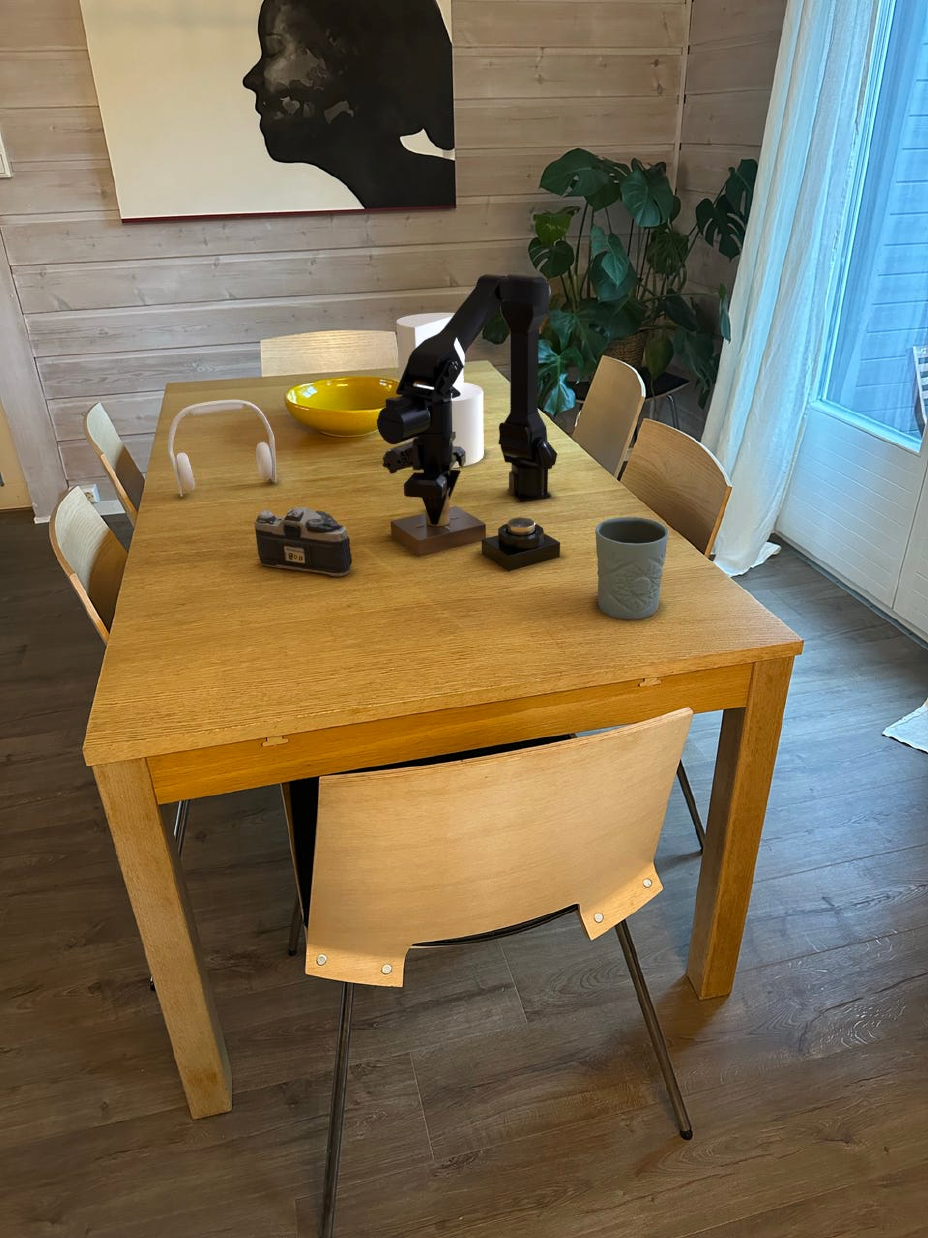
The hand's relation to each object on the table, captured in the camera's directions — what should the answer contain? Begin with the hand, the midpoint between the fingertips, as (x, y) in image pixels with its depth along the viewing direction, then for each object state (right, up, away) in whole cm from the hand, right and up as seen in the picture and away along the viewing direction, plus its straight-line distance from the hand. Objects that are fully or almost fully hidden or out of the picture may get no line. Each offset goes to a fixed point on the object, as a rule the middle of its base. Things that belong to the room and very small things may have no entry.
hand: (437, 519), depth 153 cm
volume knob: (0, 0, 0) cm, 0 cm away
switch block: (+14, -7, -5) cm, 16 cm away
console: (0, -3, +2) cm, 4 cm away
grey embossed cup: (+28, -15, -21) cm, 38 cm away
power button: (+14, -3, -7) cm, 16 cm away
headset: (-42, +8, +24) cm, 49 cm away
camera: (-20, -8, -6) cm, 22 cm away
